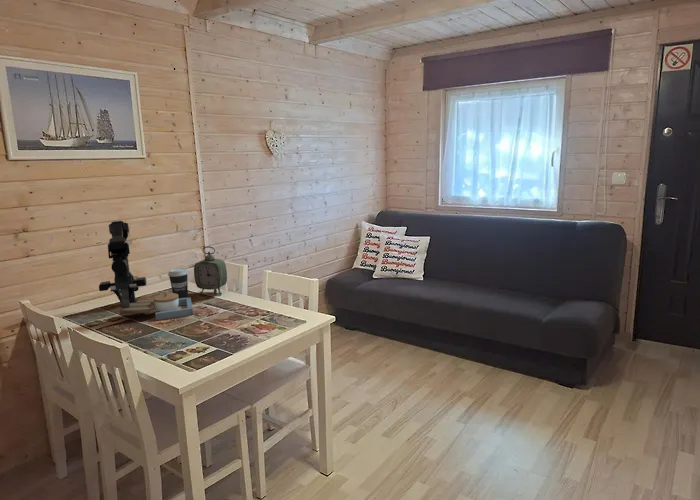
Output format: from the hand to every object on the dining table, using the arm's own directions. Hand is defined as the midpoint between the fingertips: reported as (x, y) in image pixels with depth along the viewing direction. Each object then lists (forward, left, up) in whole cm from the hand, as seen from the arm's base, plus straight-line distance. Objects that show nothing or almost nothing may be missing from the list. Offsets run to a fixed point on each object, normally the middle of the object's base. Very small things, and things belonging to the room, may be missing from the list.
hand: (125, 302), depth 211 cm
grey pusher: (0, +4, -4) cm, 5 cm away
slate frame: (0, +20, -7) cm, 21 cm away
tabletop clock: (-21, +39, -8) cm, 45 cm away
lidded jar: (+1, +17, -8) cm, 18 cm away
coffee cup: (-19, +23, -8) cm, 31 cm away
